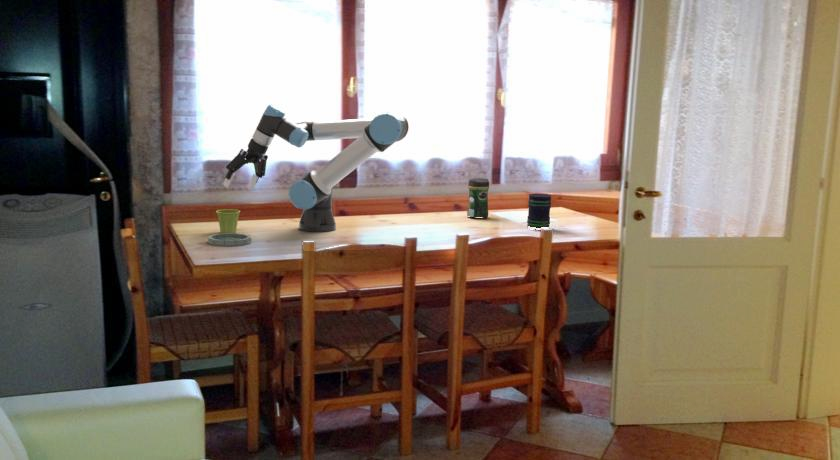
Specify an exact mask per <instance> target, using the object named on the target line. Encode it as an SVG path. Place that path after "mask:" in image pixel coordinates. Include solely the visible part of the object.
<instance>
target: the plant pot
mask: <svg viewBox="0 0 840 460" xmlns="http://www.w3.org/2000/svg"><path fill="white" fill-rule="evenodd" d="M215 213H216V216H217V220H218V224H219V230H220V234H221V233H237V231H238V230H237V229H238V220H239V216H240V213H241V210H239V209H233V208H232V209H227V208H225V209H217V210H216V211H215Z"/></svg>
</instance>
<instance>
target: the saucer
mask: <svg viewBox="0 0 840 460" xmlns="http://www.w3.org/2000/svg"><path fill="white" fill-rule="evenodd" d="M251 237H252V236H251V235H250V234H249V235H248V234H246V233H237V232H236V233H221V232H220V233H214V234H211V235H208V237H207V238H208V239H207V242H208V243H207V244H209V245H212V246H217V247H238V246H239V247H241V246H245V245H249V244H251V242H252V238H251Z"/></svg>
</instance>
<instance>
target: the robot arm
mask: <svg viewBox="0 0 840 460" xmlns="http://www.w3.org/2000/svg"><path fill="white" fill-rule="evenodd" d="M285 115H286V112H285V110H284V109H283V108H281V107H278V106H277V105H274V104H269V105H268V106H267V107H266V108H265V110H264V111H263V113H262V116H261V118H260V120H259V123H258V124H257V127H256V129H255V130H254V133H253V134H252V137H251V138H250V140H249V142H248V144H247V150H244V149H243V148H241V149H240V151H239V152H238V154H237V155H236V156H234V157H233V159H232V160H231V161H229V163H228V164H227V165H226V166H225V169H227V174H226V175H225V179H224V180H223V183H222V185H223V186H224V187H225V188H227V189H228V188H229V187H230V185H231V183H232V181H233V179H234V178H235V175H236V172H238V170H240V169H241V168H242V167H244V166H245V165H247V164H253V167H254V172H255V173H253V174H252V176H251V178H250V180H249V182H248V184H247V186H246V189H248V190H249V191H250V192H253V189H254V188H255V186H256V184H257V183H258V181H259V179H262V178H263V177H264V176H266V168H267V160H268V158H269V156H268V155H267V154H266V153H267V151H268V149H269V146H270V145H271V144H272V141H273V139H274V137H275V135H276V136H278V137H279V138H281V139H283V141H286V142H287V143H289V144H290V145H292V146H293V147H294V146H295V148H296V147H297V148H302V147H303V146H304V145H305V143H306V142H309V141H311V142H312V141H326V140H345V139H347V140H348V139H355V140H353V142H352V143H349V145H347V147H345V148H344V149H343V150H341V151H340V152H339V153H338V154H336V156H334V157H333V158H332V159H330V160H329V161H327V162H326V163H325V164H323V166H322V167H320V168H319V169H318V170H311V171H310V172H305V173H304V174H303V177H302V178H300V179H299V180H295V181H294V182H293V183H292V184H291V185H290V187H289V188H288V189H289V190H288V197H289V201H290V202H291V204H292V205H293V206H294V207H295V208H297V209H300V210H303V211H302V214H301V216H300V220H299V223H298V227H299V228H298V229H299V230H301V231H306V232H331V231H335V230H336V228H337V224H336V219H335V217H334V216H335V215H334V214H333V209H332V208H333V187H334V186H336V185H337V184H338V183H339V182H341V180H343V179H344V178H345V177H347V176H348V175H349V174H350V173H353V171H355V170H356V169H357V168H358V167H360V166H361V165H362V164H363V163H364V162H366V161H367V160H368V159H370V158H371V157H372V156H373V155H374V154H376V153H378V152H379V153H383V152H385V151H386V150H387V149H388V148H390V147H391V146H392V145H393V144H394V143H396V142H397V143H398V142H400V141H402V140H403V139H404V138H406V136H407V134H408V132H409V122H408V119H407V118H406V117H405V116H404V115H403V114H401V113H400V112H397V111H396V112H395V111H390V112H389V111H387V112H386V111H385V112H382V113H379V114H377V115H375V116H374V117H370V118H358V119H357V118H354V119H340V120H338V119H337V120H323V121H322V120H321V121H302V122H293V121H291V120H289V119H287V118H286V117H285Z"/></svg>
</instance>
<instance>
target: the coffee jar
mask: <svg viewBox="0 0 840 460" xmlns="http://www.w3.org/2000/svg"><path fill="white" fill-rule="evenodd" d="M467 188H468V190H469V193H468V195H469V196H468V206H467V212H466V213H467V214H466V215H467V217H468V216H470V217H487V218H488V217H489V203H488V202H489V197H488V196H489V194H488V193H489V189H490V181H489V179H487V178H484V177H483V178H481V177H480V178H479V177H478V178H477V177H476V178H470V179H469V180H468V186H467Z"/></svg>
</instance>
